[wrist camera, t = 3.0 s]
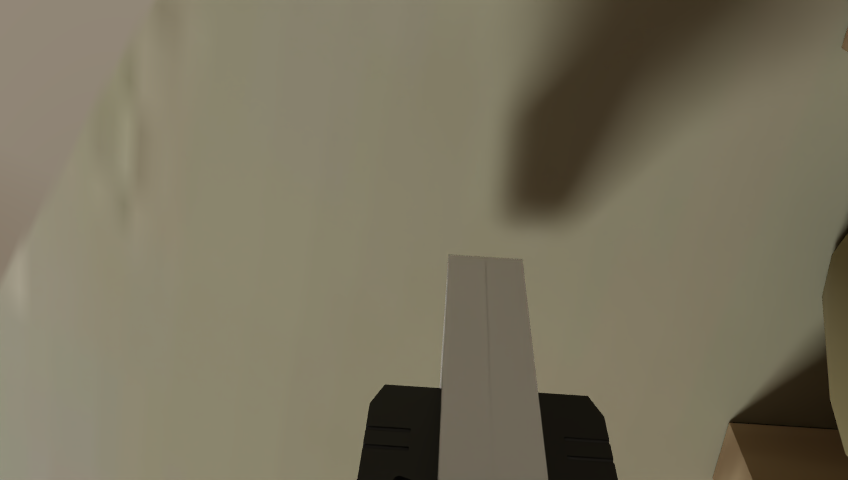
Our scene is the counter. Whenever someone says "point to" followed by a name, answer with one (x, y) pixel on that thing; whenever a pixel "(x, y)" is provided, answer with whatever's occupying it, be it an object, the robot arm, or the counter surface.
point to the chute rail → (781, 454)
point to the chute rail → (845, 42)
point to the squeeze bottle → (838, 336)
